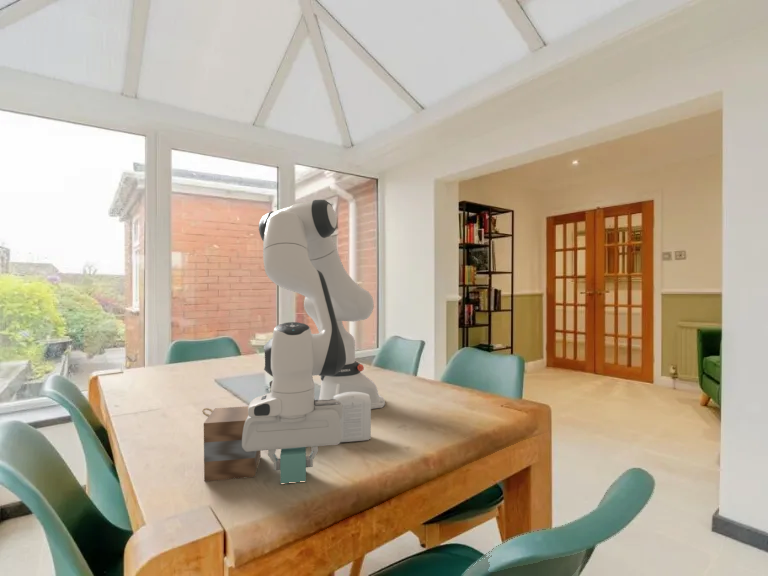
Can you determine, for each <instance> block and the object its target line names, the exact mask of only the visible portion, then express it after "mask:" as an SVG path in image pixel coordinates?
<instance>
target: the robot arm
mask: <svg viewBox="0 0 768 576" xmlns="http://www.w3.org/2000/svg"><path fill="white" fill-rule="evenodd" d="M337 221H338V220H337V214H336V212H335V209H334V208H333V206H332V204H331V203H330V202H329V201H327V200H326V199H313V200H312V201H305V202H298V203H294V204H291V205H289V206H285V207H283V208H280V209H277V210H275V211H270V212H267V213H265V214H264V215H262V217H261V219H260V220H259V222H258V232H259V236H260V238H261V240H262V242H263V243H262V244H263V245H262V247H263V248H262V258H263V259H262V260H263V267H264V268H263V269H264V272H265V275H266V276H267V278H268V279H269V280H270V281H271V282H272V283H274V284H275V285H276V286H279V288H282V289H284V290H288V291H290V292H294V293H296V294H299V295H301V296H304V297H305V298H304V301H303V302H304V303H303V308H304V311H305V313H306V315H307V316H308V317H309V318H310V319H312V321H313V322H314V324H315V326H316V328H317V331H318V333H312V329H311V327H310V325H308V324H307V323H303V322H298V321H297V322H296V321H289V322H284V323H281V324H277V325H276V326H275V327H274V328H273V332H272V333H273V334H272V337H271V338H270V339H269V340H268V341H267V342H266V343H265V344H264V345H263V352H264V368H263V370H264V371H265V372H266V373H267V374H268V375H270V376H271V377H272V380H273V381H272V380H271V381H272V385H271V392H270V391H269V392H267V393H265V394H263V395H260V396H256V397H255V398H253V399H252V400H251V401H250V403H249V404H248V406H249V407H248V417H247V419H246V421H245V424H244V428H243V434H242V448H243V449H244V450H245V451H246V452H251V451H267V455H268V457H269V458H270V460H271V462H272V463H273V471H280V458H278V457H277V455H276V451H277V450H281V449H288V448H301V447H306V448H311V449H310V451H311V452H310V454H309V455H306V468H313V467H314V458H315V457H316V455H317V453H318V451H319V447H323V446H337V445H340V444H341V443H342V442H341V440H342V430H341V423H340V419H341V418H342V416H343V405H342V404H341V403H340V402H339V401H336V399H333V397H334V396H335V395H338V394H341V393H345V392H362V393H366V394H369V396H370V401H371V410H372V409H373V410H374V409H381V408H383V407H384V406H385V405H386V401H385V398H384V397H383V396H381V395H380V394H379V392H378V391H379V390H378V388H377V385H376V383H375V382H374V381H373V380H371V379H370V378H369V377H367V376H366V375H365V374H364V373H362V371H364V368H365V367H364V365H363V364H361V363H360V362H359V361H356V342H355V338H354V336H353V335H352V334H351V333H350V332H349V331H347V329H346V328H345V326H344V324H343V322H359V321H364V320H365V321H366V320H367V319H368V318H370V317H371V315H372V313H373V311H374V305H375V302H374V299H373V296H372V294H371V293H370V292H369V291H368V290H366V289H365V288H363V287H361V286H360V285H359V284H358V283H357V282H356V281H355V280H354V279H353V278H352V277H351V276H350V275H349V273H348V272H347V270H346V269H345V267H344V265H343V263H342V260H341V256H340V255H339V252H338V249H337V246H336V244H335V241H334V239H333V236H332V235H333V234H334V233H335V231H336V229H337V226H338V223H337ZM314 376H319V378H320V380H321V381H320V389H319V390H320V391H319V397H318V399H315V382H314V379H313V377H314ZM336 403H338V404H336Z"/></svg>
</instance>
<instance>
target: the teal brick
mask: <svg viewBox="0 0 768 576" xmlns="http://www.w3.org/2000/svg"><path fill="white" fill-rule="evenodd" d="M306 451H307V447H301V448H288V449H280V456H279V457H280V470H279V471H280V472H279V473H280V484H281V483H289V482H300V481H306V482H307V467H306V456H307V453H306Z"/></svg>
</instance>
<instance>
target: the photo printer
mask: <svg viewBox="0 0 768 576" xmlns="http://www.w3.org/2000/svg"><path fill="white" fill-rule="evenodd" d="M333 399H336V401H339V402H340V403H341V404H342V405H343V416H342V418H341V419H340V423H341V430H342V440H341V442H340V443H348V442H350V443H351V442H363V441H370V440H371V439H372V437H371V436H372V434H371V433H372V409H371V401H370V396H369V394H366V393H362V392H345V393H341V394H338V395H335V396H334V397H333ZM336 404H338V403H336ZM369 439H370V440H369Z"/></svg>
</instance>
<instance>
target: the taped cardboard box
mask: <svg viewBox="0 0 768 576" xmlns="http://www.w3.org/2000/svg"><path fill="white" fill-rule="evenodd" d="M248 407H249V405H247V406H246V405H245V406H232V407H231V406H230V407H217V408H214V409H212V410H213V411H212V412H210V414H209V417H208V416H207V418H206V419H205V421H204V422H203V474H204V475H203V476H204V477H203V481H204V482H211V481H223V480H225V481H226V480H235V478H236V479H244V477H247V478H254V477H253V476H255V477H256V474H257V472H256V471H257V470H258V468H257V467H259V464H260V461H261V458H262V457H261V454H262V452H261V451H251V452H246V451H245V450H244V449H243V448H242V434H243V428H244V424H245V421H246V419H247V417H248ZM233 478H234V479H233Z"/></svg>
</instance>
